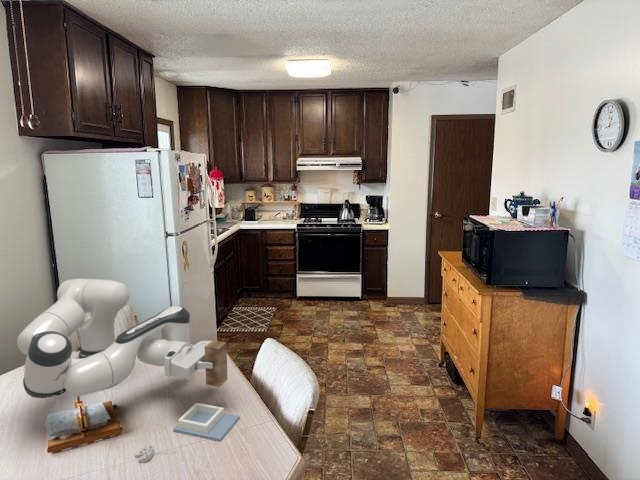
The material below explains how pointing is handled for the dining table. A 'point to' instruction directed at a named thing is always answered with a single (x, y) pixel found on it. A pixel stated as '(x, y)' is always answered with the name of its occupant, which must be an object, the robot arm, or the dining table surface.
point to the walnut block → (216, 363)
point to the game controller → (145, 454)
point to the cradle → (206, 422)
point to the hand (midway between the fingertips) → (218, 360)
